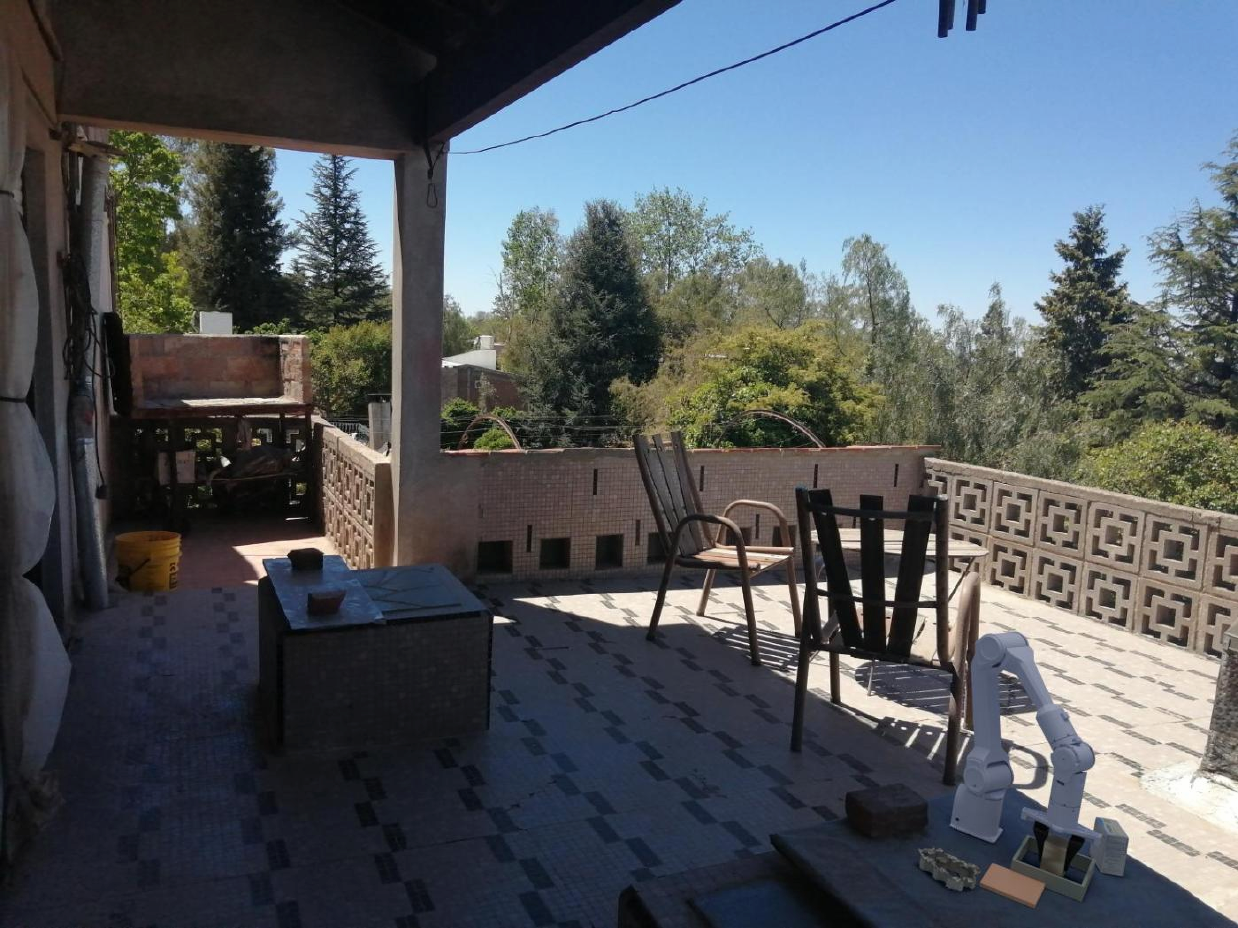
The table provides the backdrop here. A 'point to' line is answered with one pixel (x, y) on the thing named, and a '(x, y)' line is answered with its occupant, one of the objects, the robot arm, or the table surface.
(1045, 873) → the bin
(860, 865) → the table surface
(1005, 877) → the pad
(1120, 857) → the medicine box
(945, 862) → the egg carton
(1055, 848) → the block
